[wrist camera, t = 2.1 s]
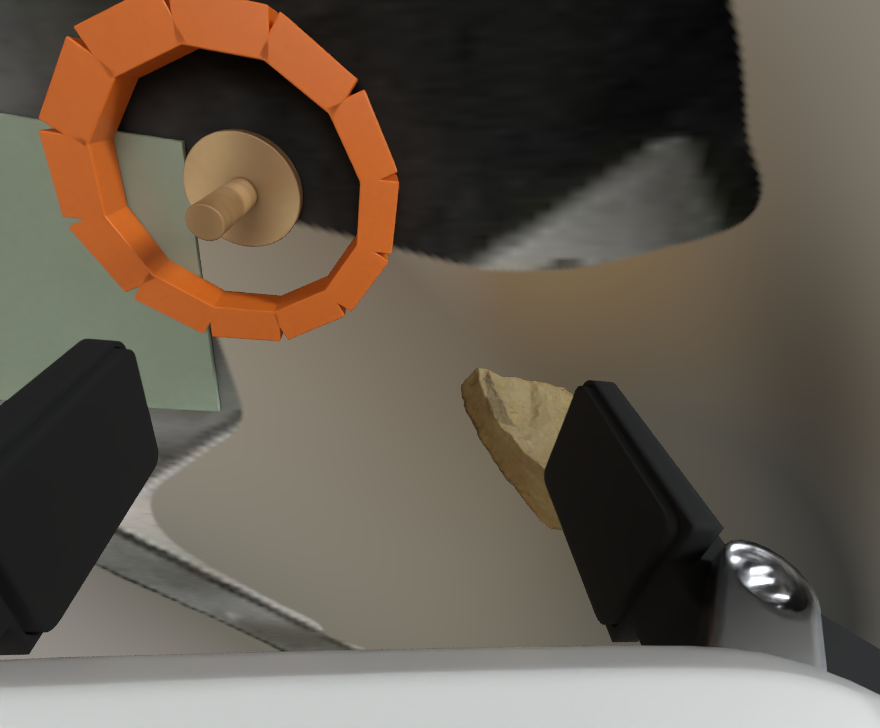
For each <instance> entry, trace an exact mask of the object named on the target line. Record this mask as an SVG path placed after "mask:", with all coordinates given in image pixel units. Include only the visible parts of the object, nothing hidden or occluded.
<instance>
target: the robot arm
mask: <svg viewBox="0 0 880 728" xmlns="http://www.w3.org/2000/svg"><path fill="white" fill-rule="evenodd" d="M157 461H158V447H157V443H156V439H155V435H154V431H153V426H152V422H151V418H150V414H149V410H148V406H147V401H146V397H145V393H144V389H143V385H142V381H141V376H140V372H139V368H138V364H137V360H136V356H135V353H134V352H133V351H132V350H130V349H126V347H125V345H124V344H123V343H122V342H120V341H113V340H101V339H83V340H81V341H79V342H78V343H77V344H76V345H74V346H73V347H72V348H71V349H69V350H68V351H67V352H66V353H64V354H63V355H62V356H61V357H60V358H58V359H57V360H56V361H55V362H53V363H52V364H51V365H50V366H48V367H47V368H46V369H45V370H44V371H42V372H41V373H40V374H39V375H37V376H36V377H35V378H34V379H32V380H31V381H30V382H29V383H28V384H26V385H25V386H24V387H23V388H21V389H20V390H19V391H18V392H16V393H15V394H14V395H13V396H12V397H10V398H9V399H8V400H7V401H5V402H4V403H3V404H2V405H0V655H24V654H29V653H30V652H31V650H32V649H33V647H34V646H35V644H36V642H37V641H38V639H39V638H40V636H41V635H42V633H43V632H49V631H50V630H52V629H53V628H54V627H55V626H56V625H57V624H58V622H59V621H60V619H61V618H62V616H63V615H64V613H65V611H66V610H67V608H68V607H69V605H70V603H71V602H72V600H73V599H74V597H75V595H76V594H77V592H78V591H79V589H80V587H81V586H82V584H83V583H84V581H85V579H86V578H87V576H88V575H89V573H90V571H91V570H92V568H93V566H94V565H95V563H96V562H97V560H98V559H99V557H100V555H101V554H102V552H103V551H104V549H105V547H106V546H107V544H108V543H109V541H110V539H111V538H112V536H113V534H114V533H115V531H116V530H117V528H118V526H119V525H120V523H121V522H122V520H123V518H124V517H125V515H126V514H127V512H128V510H129V509H130V507H131V506H132V504H133V502H134V501H135V499H136V498H137V496H138V494H139V493H140V491H141V490H142V488H143V486H144V485H145V483H146V482H147V480H148V478H149V477H150V475H151V473H152V472H153V470H154V469H155V467H156V464H157ZM544 482H545V485H546V488H547V491H548V493H549V496H550V498H551V501H552V503H553V506H554V509H555V511H556V514H557V516H558V519H559V522H560V524H561V527H562V529H563V532H564V535H565V537H566V540H567V542H568V545H569V547H570V550H571V553H572V555H573V558H574V560H575V563H576V565H577V568H578V571H579V573H580V576H581V579H582V581H583V584H584V586H585V589H586V592H587V594H588V597H589V599H590V602H591V604H592V607H593V610H594V612H595V614H596V617H597V619H598V620H599V621H600V623H601V624H604V625H606V627H607V630H608V632H609V635H610V637H611V640H612V642H638V641H640V643H641V645H642V646H607V645H606V646H605V645H604V646H542V647H480V648H432V649H431V648H430V649H429V648H428V649H381V650H334V651H289V652H246V653H211V654H174V655H173V654H172V655H135V656H98V657H65V658H64V657H60V658H38V659H16V660H0V728H880V649H878V648H877V647H875V646H873V645H871V644H870V643H868V642H867V641H865V640H863V639H862V638H860V637H858V636H857V635H855V634H854V633H852V632H850V631H849V630H847V629H845V628H843V627H842V626H840V625H839V624H837V623H835V622H833V621H832V620H830V619H829V618H827V617H825V616H823V615H822V614H821V612H820V605H819V601H818V599H817V595H816V593H815V591H814V590H813V588H812V587H811V585H810V584H809V582H808V580H807V579H806V578H805V577H804V576H803V575H802V574H801V573H800V572H799V571H798V570H797V568H795V567H794V566H793V565H792V564H790V563H789V562H788V561H787V560H785V559H784V558H783V557H782V556H780V555H778V554H777V553H775V552H773V551H772V550H770V549H768V548H766V547H764V546H761V545H759V544H757V543H754V542H750V541H745V540H734V541H733V540H732V541H730V542H728V543H727V544H724V542H723V541H722V540H721V538H720V537H719V534H720V533H721V531H722V530H723V529H724V528H723V526H722V525H721V524H720V522H719V521H718V520H717V518H716V517H715V516H714V514H713V513H712V512H711V510H710V509H709V508H708V506H707V505H706V504H705V502H704V501H703V500H702V498H701V497H700V496H699V494H698V493H697V492H696V490H695V489H694V488H693V487H692V485H691V484H690V482H689V481H688V480H687V479H686V477H685V476H684V475H683V473H682V472H681V471H680V469H679V468H678V467H677V465H676V464H675V463H674V461H673V460H672V459H671V457H670V456H669V455H668V453H667V452H666V451H665V449H664V448H663V447H662V445H661V444H660V443H659V442H658V440H657V439H656V437H655V436H654V435H653V433H652V432H651V431H650V429H649V428H648V427H647V425H646V424H645V423H644V421H643V420H642V419H641V418H640V416H639V415H638V413H637V412H636V411H635V409H634V408H633V407H632V406H631V404H630V403H629V402H628V400H627V399H626V397H625V396H624V395H623V394H622V392H621V391H620V390H619V388H618V387H617V386H616V385H615V384H614V383H612V382H603V381H592V380H589V381H586V382H585V383H584V385H583V386H579V387H578V388H577V389H576V391H575V393H574V395H573V398H572V401H571V403H570V406H569V408H568V411H567V413H566V416H565V419H564V421H563V424H562V426H561V429H560V431H559V434H558V436H557V439H556V442H555V444H554V447H553V449H552V452H551V454H550V457H549V460H548V462H547V465H546V467H545V471H544Z"/></svg>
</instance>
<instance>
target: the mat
mask: <svg viewBox="0 0 880 728" xmlns="http://www.w3.org/2000/svg"><path fill="white" fill-rule="evenodd" d="M51 128H53V127H51V126H50V125H48V124H46V123H45V122H43V121H41V120H40V119H38V118H31V117H25V116H18V115H12V114H5V113H0V400H8V399H9V398H10V397H12V396H13V395H14V394H15V393H16V392H18V391H19V390H20V389H21V388H23V387H24V386H25V385H26V384H28V383H29V382H30V381H31V380H32V379H34V378H35V377H36V376H37V375H39V374H40V373H41V372H42V371H44V370H45V369H46V368H47V367H48V366H50V365H51V364H52V363H53V362H55V361H56V360H57V359H58V358H60V357H61V356H62V355H63V354H64V353H66V352H67V351H68V350H69V349H71V348H72V347H73V346H74V345H76V344H77V343H78V342H79V341H81V340H83V339H101V340H113V341H120V342H122V343H123V344H124V345H125V347H126V349H130V350H132V351H133V352H134V353H135V356H136V360H137V364H138V368H139V372H140V376H141V381H142V385H143V389H144V393H145V397H146V401H147V406H148V408H159V409H177V410H195V411H214V412H219V411H220V409H221V408H220V401H219V393H218V386H217V379H216V371H215V364H214V356H213V349H212V342H211V334H210V327H208V328H207V330H206V331H205V333H200V332H199V331H197V330H195V329H193V328H191V327H189V326H187V325H185V324H183V323H181V322H179V321H177V320H175V319H173V318H171V317H169V316H167V315H165V314H163V313H161V312H159V311H157V310H155V309H153V308H151V307H149V306H147V305H145V304H143V303H141V302H139V301H137V300H135V299H134V297H135V295H136V293H137V291H138V289H139V288H140V286H139V287H137V288H135V289H133V290H130V291H128V292H125V291H124V290H123V289H122V288H121V287H120V286H119V284H118V283H117V282H116V281H115V280H114V279H113V278H112V276H111V275H110V274H109V273H108V272H107V271H106V270H105V268H104V267H103V266H102V265H101V264H100V263H99V262H98V260H97V259H96V258H95V257H94V256H93V255H92V254H91V253H90V251H89V250H88V249H87V248H86V247H85V246H84V245H83V243H82V242H81V241H80V240H79V239H78V238H77V237H76V235H75V234H74V233H73V232H72V231H71V230H70V229H69V226H71V225H73V224H75V223H77V222H79V221H82V220H84V219H76V218H67V217H63V216H62V212H61V209H60V205H59V202H58V198H57V195H56V191H55V188H54V184H53V181H52V177H51V174H50V170H49V167H48V163H47V160H46V156H45V152H44V149H43V145H42V142H41V138H40V135H39V130H44V129H51ZM114 144H115V148H116V153H117V158H118V163H119V168H120V173H121V178H122V182H123V187H124V192H125V197H126V202H127V206H128V207H129V208H130V210H131V211H132V212H133V214H134V215H135V216H136V217H137V219H138V220H139V221H140V223H141V224H142V225H143V226H144V228H145V229H146V230H147V232H148V233H149V234H150V236H151V237H152V238H153V239H154V241H155V242H156V243H157V245H158V246H159V247H160V248H161V250H162V251H163V252H164V254H165V255H166V256H167V257H168V259H169V260H170V261H172V262H174V263H176V264H178V265H179V266H181V267H183V268H185V269H187V270H188V271H190V272H192V273H194V274H195V275H197V276H199V277H201V278H203V276H202V268H201V260H200V253H199V246H198V238H197V237H196V236H195V235H194V234H193V233H192V232H191V231H190V230H189V229H188V227H187V225H186V221H185V214H186V211H187V209H188V208H189V207H190V206H191V205H190V203H189V201H188V198H187V195H186V192H185V188H184V181H183V171H184V165H185V161H186V158H187V157H186V150H185V142H184V141H182V140H175V139H169V138H162V137H156V136H149V135H142V134H136V133H129V132H123V131H116V134H115V136H114Z"/></svg>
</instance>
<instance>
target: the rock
mask: <svg viewBox="0 0 880 728" xmlns="http://www.w3.org/2000/svg"><path fill="white" fill-rule="evenodd" d="M461 391H462V398H463V400H464V407H465V410H466V412H467V414H468V415H469V417H470V419H471V420H472V423H473V425H474V427H475V428H476V430H477V434H478V437H479V438H480V440H481V442H482V443H483V445H484V446H485V447H486V449H487V450H488V451H489V453H490V455H491V456H492V459H493V460H494V462H495V463H496V464H497V465H498V467H499V470H500V471H501V472H502V474H503V475H504V477H505V478H506V480H507V481H508V482H509V483H511V484H512V485H513V486H514V487H515V489H516V490H517V491H518V493H519V494H520V495H521V497H522V498H523V499H524V501H525V502H526V504H527V505H528V506H529V507H530V508H531V510H532V511H533V512H534V513H535V514H536V516H537V517H538V519H539V520H540V521H541V522H542V523H544V524H545V525H546V526H548V527H549V528H551V529H557V530H563V529H562V527H561V524H560V522H559V519H558V516H557V514H556V511H555V509H554V506H553V503H552V501H551V498H550V496H549V493H548V491H547V488H546V485H545V482H544V471H545V467H546V465H547V462H548V460H549V457H550V454H551V452H552V449H553V447H554V444H555V442H556V439H557V436H558V434H559V431H560V429H561V426H562V424H563V421H564V419H565V416H566V413H567V411H568V408H569V406H570V403H571V401H572V398H573V395H572V394H571V393H569V392H568V391H566V390H565V388H562V387H556V386H553V385H550V384H548V383H545V382H543V383H541V382H537V381H527V380H522V379H521V378H517V377H501V376H499V375H497V374H496V373H493V372H491V371H490V370H487V369H482V368H477V369H476V370H475V371H474V372H473V373H472V374H471V375H470V376H469V377H468V378H467V379H466V380H465V381H464V383H463V384H462V386H461Z"/></svg>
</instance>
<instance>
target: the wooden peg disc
mask: <svg viewBox="0 0 880 728" xmlns="http://www.w3.org/2000/svg"><path fill="white" fill-rule="evenodd" d="M183 181H184V188H185V192H186V195H187V198H188V201H189V203H190V205H191V206H190V207H189V208H188V209H187V211H186V214H185V221H186V225H187V227H188V229H189V230H190V231H191V232H192V233H193V234H194V235H195V236H196V237H198V238H200V239H203V240H206V241H214V240H217V239H219V238H220V237H222V238H223V239H225V240H227V241H230V242H232V243H235V244H239V245H243V246H251V247H256V246H265V245H269V244H272V243H275V242H277V241H278V240H280V239H282V238H283V237H284V236H285V235H286V234H288V233H289V232H290V230H291V229H292V228H293V226H294V225H295V223H296V221H297V220H298V218H299V215H300V212H301V209H302V203H303V192H302V185H301V181H300V178H299V175H298V173H297V171H296V169H295V167H294V165H293V163H292V162H291V160H290V159H289V158H288V156H287V155H286V154H285V153H284V152H283V151H282V150H281V149H280V148H279V147H278V146H277V145H276V144H275V143H273V142H272V141H270V140H269V139H267V138H266V137H264V136H262V135H260V134H257V133H255V132H252V131H248V130H244V129H225V130H220V131H217V132H214V133H211V134H209V135H207V136H205V137H203V138H202V139H200V140H199V141H198V142H197V143H196V144H195V145H194V146H193V147H192V149H191V150H190V152H189V154H188V156H187V158H186V161H185V165H184V171H183Z"/></svg>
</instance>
